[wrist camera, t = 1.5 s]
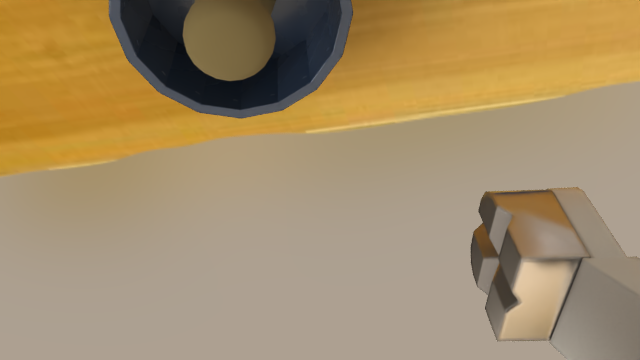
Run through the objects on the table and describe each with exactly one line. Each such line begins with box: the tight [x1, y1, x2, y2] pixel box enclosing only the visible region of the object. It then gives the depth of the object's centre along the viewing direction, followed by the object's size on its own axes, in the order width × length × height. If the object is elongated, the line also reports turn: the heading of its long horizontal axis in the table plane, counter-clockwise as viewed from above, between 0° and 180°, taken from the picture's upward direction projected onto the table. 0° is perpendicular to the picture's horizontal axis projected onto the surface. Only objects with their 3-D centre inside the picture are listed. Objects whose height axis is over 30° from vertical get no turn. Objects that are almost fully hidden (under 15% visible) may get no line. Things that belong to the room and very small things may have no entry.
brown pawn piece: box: [183, 0, 276, 81], centre depth 38 cm, size 6×6×11 cm
